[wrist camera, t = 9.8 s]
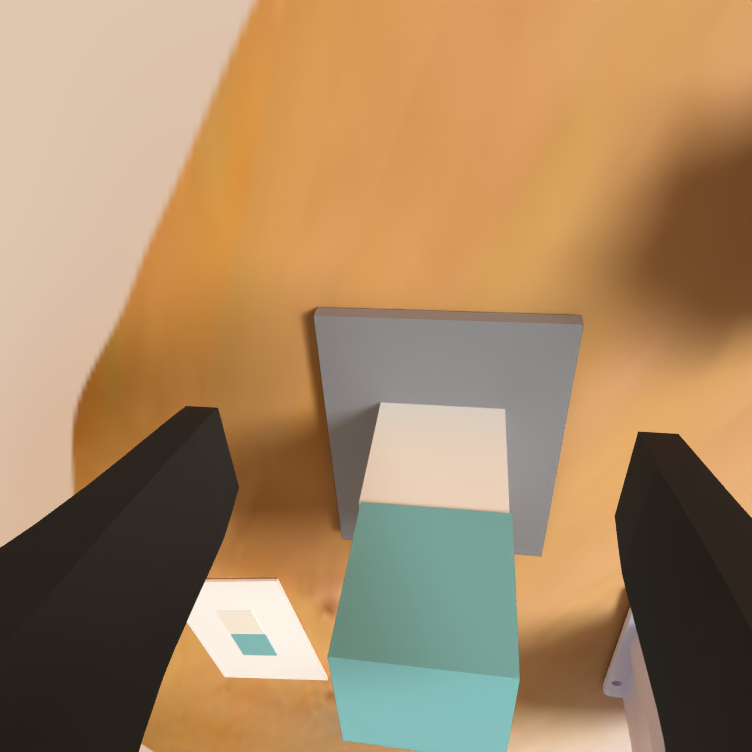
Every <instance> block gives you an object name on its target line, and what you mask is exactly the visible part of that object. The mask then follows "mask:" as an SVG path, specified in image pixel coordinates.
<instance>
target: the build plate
mask: <svg viewBox="0 0 752 752" xmlns="http://www.w3.org/2000/svg"><path fill="white" fill-rule="evenodd" d="M314 323H315V331H316V339H317V347H318V355H319V362H320V370H321V378H322V386H323V394H324V402H325V410H326V418H327V425H328V433H329V441H330V449H331V457H332V465H333V473H334V481H335V489H336V496H337V504H338V512H339V520H340V528H341V536H342V539H346V540H353V536H354V532H355V527H356V522H357V518H358V513H359V500H360V495H361V491H362V486H363V482H364V477H365V473H366V468H367V463H368V459H369V454H370V450H371V445H372V440H373V436H374V431H375V427H376V422H377V417H378V413H379V408H380V404H381V402H383V403H402V404H421V405H440V406H458V407H477V408H496V409H505V419H506V442H507V465H508V488H509V512H510V513H512V522H513V543H514V554H518V555H530V556H541V555H542V550H543V544H544V539H545V533H546V528H547V522H548V517H549V512H550V506H551V501H552V495H553V490H554V484H555V479H556V473H557V468H558V462H559V457H560V451H561V446H562V440H563V435H564V429H565V424H566V418H567V413H568V407H569V402H570V396H571V391H572V385H573V380H574V374H575V369H576V363H577V358H578V352H579V347H580V341H581V336H582V330H583V325H584V324H583V320H582V316H581V315H559V314H527V313H494V312H461V311H428V310H396V309H363V308H330V307H317V309H316V311H315V314H314Z"/></svg>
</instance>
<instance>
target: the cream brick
mask: <svg viewBox="0 0 752 752" xmlns="http://www.w3.org/2000/svg"><path fill="white" fill-rule="evenodd" d="M361 502H369V503H382V504H395V505H408V506H421V507H434V508H447V509H460V510H473V511H487V512H500V513H510V512H509V488H508V465H507V442H506V419H505V409H496V408H477V407H458V406H440V405H421V404H402V403H383V402H381V404H380V408H379V413H378V417H377V422H376V427H375V431H374V436H373V440H372V445H371V450H370V454H369V459H368V463H367V468H366V473H365V477H364V482H363V486H362V491H361V495H360V500H359V508H360V504H361Z"/></svg>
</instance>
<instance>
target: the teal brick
mask: <svg viewBox="0 0 752 752" xmlns="http://www.w3.org/2000/svg"><path fill="white" fill-rule="evenodd" d="M328 661H329V667H330V672H331V678H332V683H333V689H334V694H335V700H336V705H337V710H338V716H339V721H340V727H341V732H342V738H343V741H349V742H357V743H364V744H372V745H379V746H386V747H394V748H401V749H409V750H416V751H424V752H507V747H508V742H509V736H510V731H511V725H512V720H513V714H514V709H515V703H516V698H517V692H518V687H519V681H520V670H519V649H518V628H517V606H516V585H515V564H514V543H513V522H512V513H500V512H487V511H473V510H460V509H447V508H434V507H421V506H408V505H395V504H382V503H369V502H361V504H360V508H359V513H358V518H357V522H356V527H355V532H354V536H353V541H352V546H351V550H350V555H349V560H348V564H347V569H346V574H345V578H344V583H343V588H342V592H341V597H340V601H339V606H338V611H337V615H336V620H335V625H334V629H333V634H332V639H331V643H330V648H329V653H328Z"/></svg>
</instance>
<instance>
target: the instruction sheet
mask: <svg viewBox="0 0 752 752" xmlns="http://www.w3.org/2000/svg"><path fill="white" fill-rule="evenodd" d="M187 623H188V624H189V626H190V627H191V629H192V630H193V632H194V633H195V635H196V636H197V637H198V639H199V640H200V642H201V643H202V645H203V646H204V648H205V649H206V651H207V652H208V653H209V655H210V656H211V658H212V659H213V661H214V662H215V664H216V665H217V667H218V668H219V669H220V671H221V672H222V674H223V675H224V677H240V678H273V679H305V680H328V677H327V675H326V673H325V671H324V669H323V667H322V665H321V663H320V661H319V659H318V657H317V655H316V653H315V651H314V649H313V647H312V645H311V643H310V641H309V639H308V637H307V635H306V633H305V631H304V629H303V627H302V625H301V623H300V621H299V619H298V617H297V615H296V613H295V611H294V609H293V607H292V605H291V603H290V602H289V600H288V598H287V596H286V594H285V592H284V590H283V588H282V586H281V584H280V582H279V580H278V578H272V579H206V580H205V582H204V585H203V587H202V589H201V591H200V594H199V596H198V598H197V600H196V602H195V605H194V607H193V609H192V611H191V614H190V616H189V618H188V620H187Z"/></svg>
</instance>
